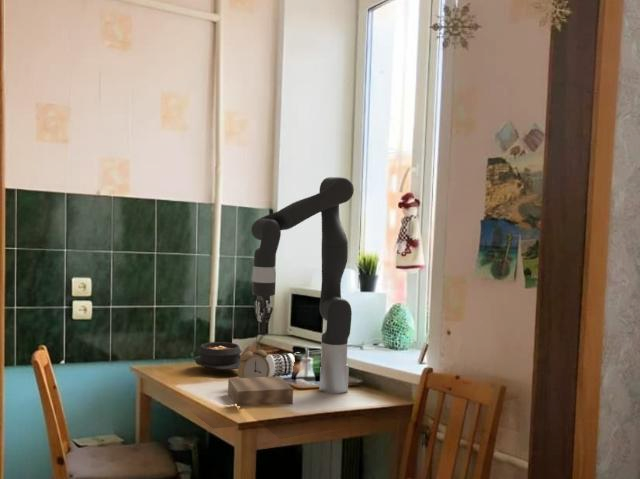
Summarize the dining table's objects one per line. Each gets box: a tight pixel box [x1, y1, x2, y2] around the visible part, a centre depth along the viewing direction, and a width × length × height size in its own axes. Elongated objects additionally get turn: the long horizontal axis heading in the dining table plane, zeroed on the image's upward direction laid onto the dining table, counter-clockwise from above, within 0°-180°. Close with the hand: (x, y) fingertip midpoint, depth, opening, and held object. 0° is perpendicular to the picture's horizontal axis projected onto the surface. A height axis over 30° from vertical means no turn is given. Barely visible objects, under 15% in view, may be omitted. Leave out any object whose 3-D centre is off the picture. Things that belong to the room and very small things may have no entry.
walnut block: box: [227, 376, 294, 407], centre depth 223 cm, size 18×16×6 cm
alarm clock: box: [237, 343, 270, 378], centre depth 240 cm, size 11×5×15 cm, turn 126°
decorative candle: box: [265, 351, 300, 377], centre depth 259 cm, size 9×9×25 cm
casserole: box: [193, 341, 243, 371], centre depth 267 cm, size 25×19×8 cm
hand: (262, 333), depth 222 cm, fingers closed
